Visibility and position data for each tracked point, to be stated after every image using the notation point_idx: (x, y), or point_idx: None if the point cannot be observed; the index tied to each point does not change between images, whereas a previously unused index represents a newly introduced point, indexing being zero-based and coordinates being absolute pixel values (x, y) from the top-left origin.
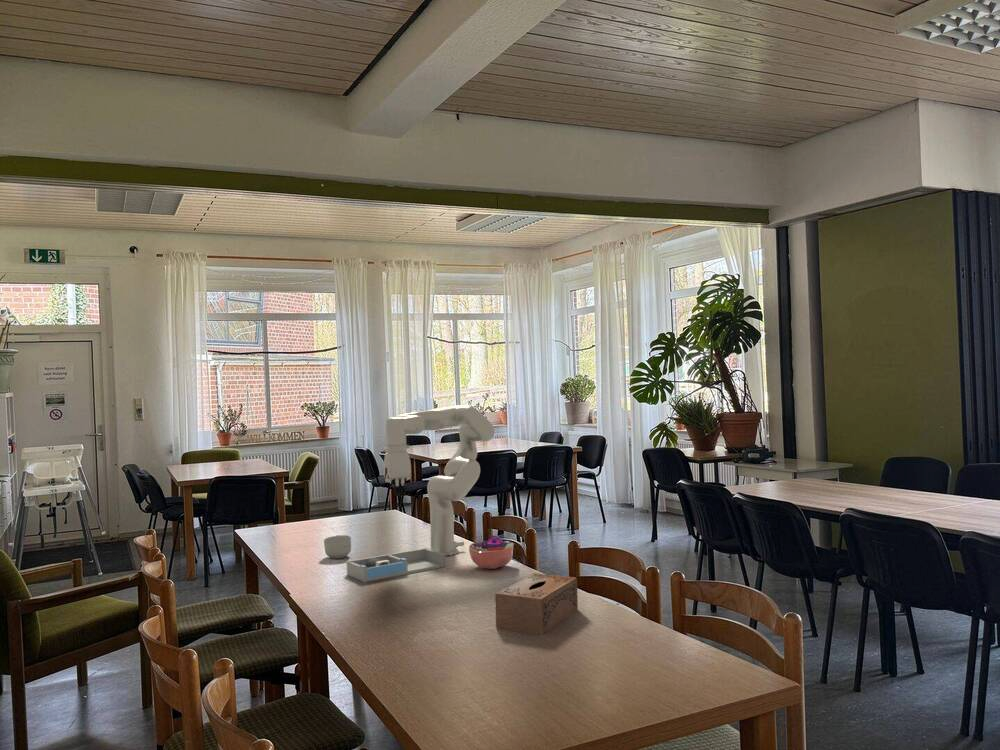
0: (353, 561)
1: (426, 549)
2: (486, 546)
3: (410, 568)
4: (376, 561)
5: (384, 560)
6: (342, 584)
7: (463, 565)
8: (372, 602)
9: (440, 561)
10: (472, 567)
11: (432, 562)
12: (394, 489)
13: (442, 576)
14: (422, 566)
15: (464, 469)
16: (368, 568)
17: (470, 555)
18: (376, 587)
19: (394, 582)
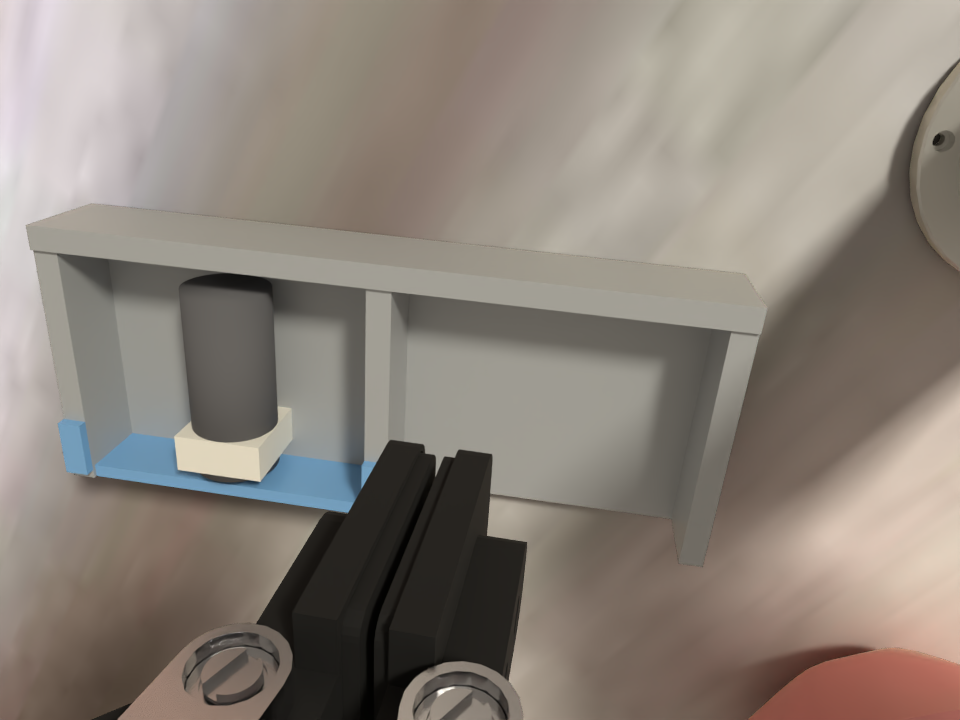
0: (74, 253)
1: (735, 342)
2: None
3: (455, 442)
4: (196, 407)
5: (237, 450)
6: (5, 383)
7: (799, 563)
8: (44, 702)
9: (678, 505)
10: (791, 632)
11: (672, 424)
12: (283, 592)
13: (519, 641)
14: (545, 458)
15: None
16: (106, 475)
17: (776, 712)
18: (140, 555)
19: (255, 550)
